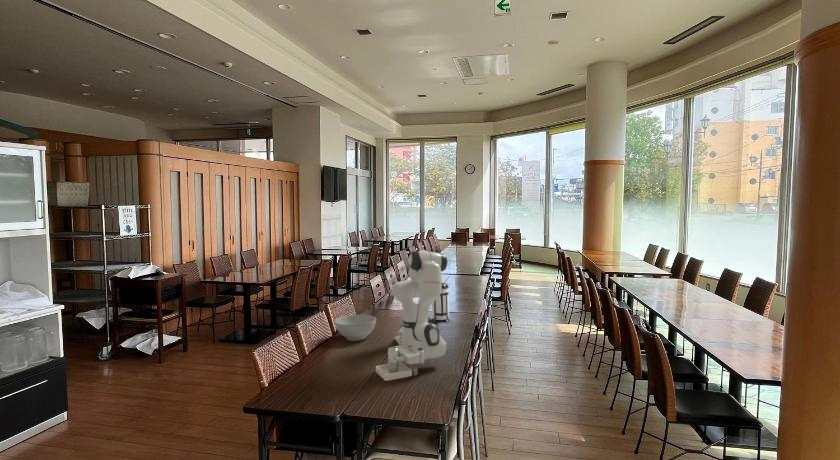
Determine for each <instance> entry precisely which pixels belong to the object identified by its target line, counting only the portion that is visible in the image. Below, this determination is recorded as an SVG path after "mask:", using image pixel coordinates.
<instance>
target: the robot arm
mask: <svg viewBox="0 0 840 460" xmlns="http://www.w3.org/2000/svg"><path fill="white" fill-rule="evenodd" d="M407 263H408V267H409V269H408V273H407V274H408V277H409V279H408V280H400V281H396V282H395V283H393V285H392V287H391V294H392V296H393V297H394V298H395V299H396V300H397V301H398V302H400V304H401V307H402V311H403V312H402V313H403V320H402V327H400V328H399V330H398V331H397V333H396V334H397V336H395V341H396V342H397V344H398V345H395V346H394V347H397V348H398V357H395V361H398V362H403V361H405V362H406V363H407V364H414V365H415V364H421V365H422V364H424V363H425V360H427V359H429V360H430V359H431V360H433V359H436V358H440V357H443V356H444V355H445V354H446V351H447V343H446V341H445V340H444V339H443V337H442V335H441V334H440V328H439V327H438V326H437V325H436V324H435V323H430V322H429V323H428V316H429V315H430V307H432V303H433V302H434V301H435V300H436V299H437V298H438V297H439V296H440V293H441V288H442V283H443V280H442V279H443V278H442V277H443V276H442V272H444V271H445V270H446V269H447V267H448V257H447V255H445V253H442V252H435V251H427V250H425V249H420V250H414V251H411V253H409V256H408V260H407ZM414 298H415V299H416V298H418V303H416V302H415V301H414ZM429 317H430V316H429Z"/></svg>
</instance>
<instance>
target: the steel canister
mask: <svg viewBox="0 0 840 460" xmlns="http://www.w3.org/2000/svg"><path fill="white" fill-rule="evenodd" d="M395 357H398V348H397V347H395V346H390V347H388V348H387V359H388V363H387V364H389V373H395V372H399V365H398V362H399V361H395Z"/></svg>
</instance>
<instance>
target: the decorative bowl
mask: <svg viewBox="0 0 840 460" xmlns="http://www.w3.org/2000/svg"><path fill="white" fill-rule="evenodd" d="M376 324H377V317H375V316H373V315H371V314H370V315H369V314H351V315H345V316H344V315H343V316H341V317H338V318H336V319H334V326H335V329H337V331H338V332H339V334H340V335H341V336H343V337H344V338H346V340H348V341H349V342H350V341H351V342H358V341H363V340H365V339H366V338H367V336H368V335H370V334H371V333H372V331H373V330H374V329H375V326H376Z"/></svg>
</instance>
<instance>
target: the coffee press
mask: <svg viewBox="0 0 840 460" xmlns="http://www.w3.org/2000/svg"><path fill="white" fill-rule="evenodd" d="M449 288H450V287H449V285H448V284H447V283H446V282H442V288H441V293H440V296H439V297H438V298H437V299H436V300H435V301H434V302H433V303H432V304H431V312H432V313H431V314H432V316H431V320H433V322H434V323H437V321H444V320H445V321H446V322H450V319H449V317H450V316H449V315H450V314H449V311H450V310H449V307H450V306H449V293H450V292H449Z"/></svg>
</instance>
